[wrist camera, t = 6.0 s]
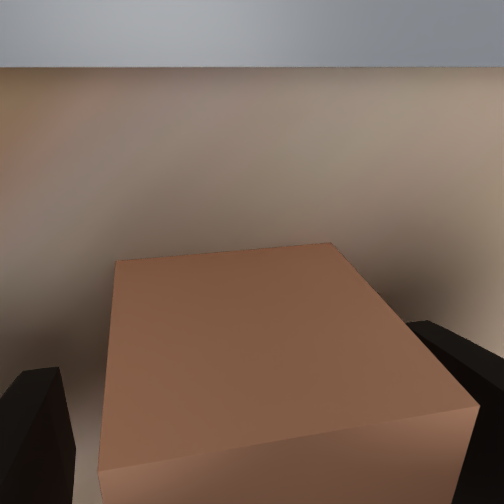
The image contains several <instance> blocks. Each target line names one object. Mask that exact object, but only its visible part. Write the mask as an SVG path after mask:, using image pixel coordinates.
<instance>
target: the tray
mask: <svg viewBox="0 0 504 504" xmlns="http://www.w3.org/2000/svg"><path fill="white" fill-rule="evenodd" d="M0 67H504V0H0Z"/></svg>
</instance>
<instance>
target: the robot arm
mask: <svg viewBox="0 0 504 504" xmlns="http://www.w3.org/2000/svg"><path fill="white" fill-rule="evenodd" d="M405 324H406V325H407V326H408V327H409V329H410V330H411V331H412V332H413V333H414V334H415V335H416V336H417V337H418V338H419V339H420V341H421V342H422V343H423V344H424V345H425V346H426V347H427V348H428V349H429V350H430V351H431V353H432V354H433V355H434V356H435V357H436V358H437V359H438V360H439V361H440V362H441V363H442V365H443V366H444V367H445V368H446V369H447V370H448V371H449V372H450V373H451V374H452V376H453V377H454V378H455V379H456V380H457V381H458V382H459V383H460V384H461V385H462V386H463V388H464V389H465V390H466V391H467V392H468V393H469V394H470V395H471V396H472V397H473V398H474V400H475V401H476V402H477V403H478V404H479V405H480V408H479V411H478V414H477V418H476V421H475V424H474V428H473V431H472V435H471V438H470V441H469V445H468V448H467V451H466V455H465V458H464V462H463V465H462V468H461V472H460V475H459V478H458V482H457V485H456V489H455V492H454V495H453V499H452V502H451V504H504V359H503V358H501V357H500V356H498V355H496V354H494V353H492V352H490V351H488V350H486V349H484V348H482V347H481V346H479V345H477V344H475V343H473V342H471V341H469V340H467V339H465V338H463V337H461V336H459V335H457V334H455V333H453V332H451V331H449V330H447V329H445V328H443V327H441V326H439V325H437V324H435V323H432V322H430V321H428V320H426V321H418V322H410V323H405ZM75 456H76V446H75V441H74V436H73V432H72V427H71V422H70V417H69V412H68V408H67V403H66V398H65V393H64V388H63V383H62V379H61V374H60V369H59V367H51V368H43V369H35V370H27V371H23V372H22V373H21V374H20V375H19V376H18V377H17V378H16V379H15V381H14V382H13V383H12V384H11V385H10V387H9V388H8V389H7V390H6V392H5V393H4V394H3V395H2V397H1V398H0V504H72V497H73V485H74V471H75Z"/></svg>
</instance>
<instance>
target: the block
mask: <svg viewBox="0 0 504 504" xmlns="http://www.w3.org/2000/svg"><path fill="white" fill-rule="evenodd" d="M479 408H480V405H479V404H478V403H477V402H476V401H475V400H474V398H473V397H472V396H471V395H470V394H469V393H468V392H467V391H466V390H465V389H464V388H463V386H462V385H461V384H460V383H459V382H458V381H457V380H456V379H455V378H454V377H453V376H452V374H451V373H450V372H449V371H448V370H447V369H446V368H445V367H444V366H443V365H442V363H441V362H440V361H439V360H438V359H437V358H436V357H435V356H434V355H433V354H432V353H431V351H430V350H429V349H428V348H427V347H426V346H425V345H424V344H423V343H422V342H421V341H420V339H419V338H418V337H417V336H416V335H415V334H414V333H413V332H412V331H411V330H410V329H409V327H408V326H407V325H406V324H405V323H404V322H403V321H402V320H401V319H400V318H399V316H398V315H397V314H396V313H395V312H394V311H393V310H392V309H391V308H390V307H389V306H388V304H387V303H386V302H385V301H384V300H383V299H382V298H381V297H380V296H379V295H378V294H377V292H376V291H375V290H374V289H373V288H372V287H371V286H370V285H369V284H368V283H367V281H366V280H365V279H364V278H363V277H362V276H361V275H360V274H359V273H358V272H357V271H356V269H355V268H354V267H353V266H352V265H351V264H350V263H349V262H348V261H347V260H346V259H345V257H344V256H343V255H342V254H341V253H340V252H339V251H338V250H337V249H336V248H335V247H334V245H333V244H332V243H321V244H310V245H298V246H286V247H274V248H262V249H251V250H239V251H227V252H215V253H204V254H192V255H180V256H168V257H157V258H145V259H133V260H121V261H116V265H115V276H114V288H113V299H112V311H111V322H110V334H109V345H108V357H107V368H106V380H105V391H104V402H103V414H102V425H101V437H100V448H99V460H98V471H97V472H98V477H99V483H100V488H101V493H102V499H103V504H451V502H452V499H453V495H454V492H455V489H456V485H457V482H458V478H459V475H460V472H461V468H462V465H463V462H464V458H465V455H466V451H467V448H468V445H469V441H470V438H471V435H472V431H473V428H474V424H475V421H476V418H477V414H478V411H479Z"/></svg>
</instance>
